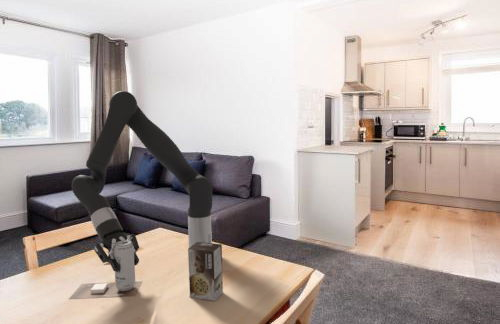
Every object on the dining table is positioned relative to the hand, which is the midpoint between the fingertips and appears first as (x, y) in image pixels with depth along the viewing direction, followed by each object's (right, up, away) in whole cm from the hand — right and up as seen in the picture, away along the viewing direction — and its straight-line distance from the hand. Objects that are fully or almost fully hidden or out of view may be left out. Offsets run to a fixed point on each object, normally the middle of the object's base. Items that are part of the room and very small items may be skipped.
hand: (127, 267), depth 110 cm
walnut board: (-7, -9, +2) cm, 11 cm away
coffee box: (+25, -9, 0) cm, 27 cm away
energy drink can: (-1, -7, +2) cm, 8 cm away
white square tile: (-10, -8, +1) cm, 12 cm away
